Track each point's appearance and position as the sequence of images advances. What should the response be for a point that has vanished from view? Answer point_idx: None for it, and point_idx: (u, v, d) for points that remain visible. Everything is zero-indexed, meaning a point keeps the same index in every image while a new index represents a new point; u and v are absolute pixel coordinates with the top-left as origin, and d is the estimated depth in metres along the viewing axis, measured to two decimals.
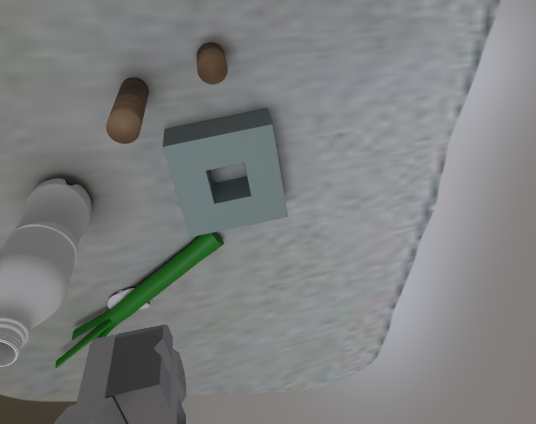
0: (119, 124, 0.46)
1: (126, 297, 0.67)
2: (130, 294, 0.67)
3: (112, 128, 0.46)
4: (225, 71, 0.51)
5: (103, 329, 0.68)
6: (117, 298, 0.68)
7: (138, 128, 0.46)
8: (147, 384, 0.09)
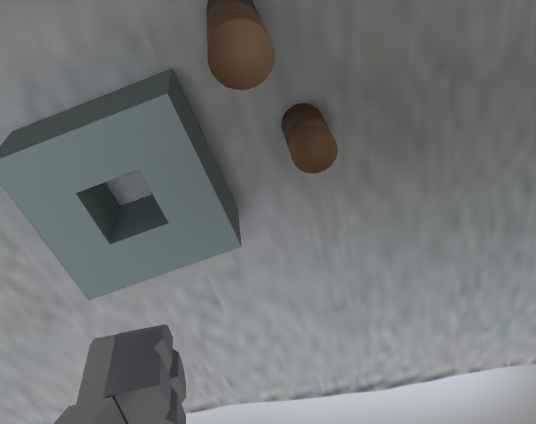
0: (248, 49, 0.23)
1: None
2: None
3: (237, 36, 0.22)
4: (313, 170, 0.33)
5: None
6: None
7: (245, 86, 0.23)
8: (147, 384, 0.09)
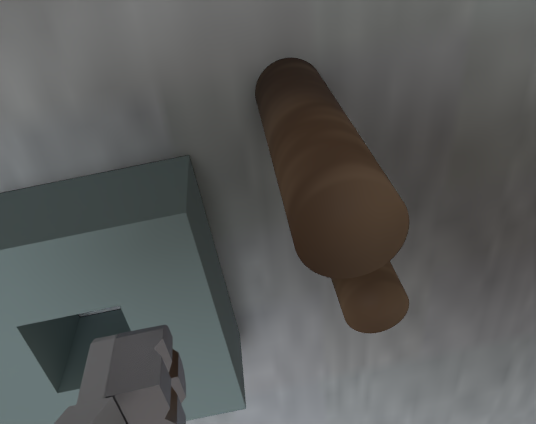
0: (368, 222, 0.13)
1: None
2: None
3: (357, 200, 0.12)
4: (368, 330, 0.23)
5: None
6: None
7: (345, 275, 0.14)
8: (147, 383, 0.09)
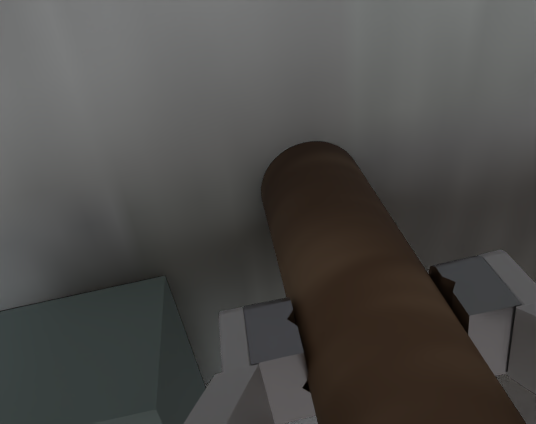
0: None
1: None
2: None
3: None
4: None
5: None
6: None
7: None
8: (291, 351, 0.09)
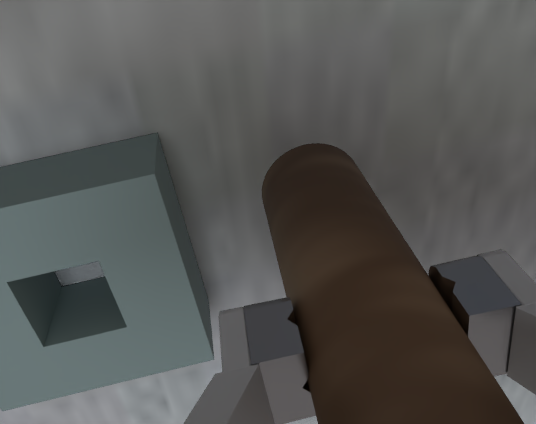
0: None
1: None
2: None
3: None
4: None
5: None
6: None
7: None
8: (291, 352, 0.09)
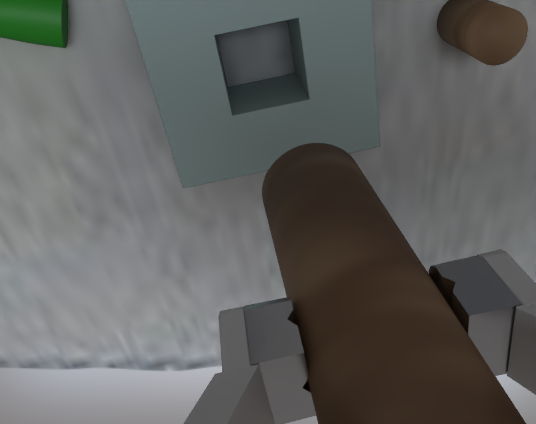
0: None
1: None
2: None
3: None
4: (491, 61, 0.28)
5: None
6: None
7: None
8: (291, 352, 0.09)
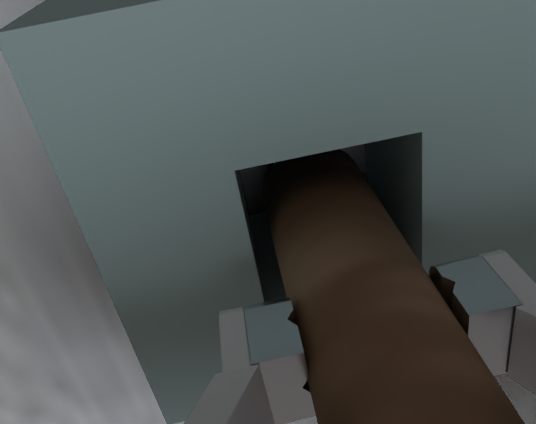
0: None
1: None
2: None
3: None
4: None
5: None
6: None
7: None
8: (291, 352, 0.09)
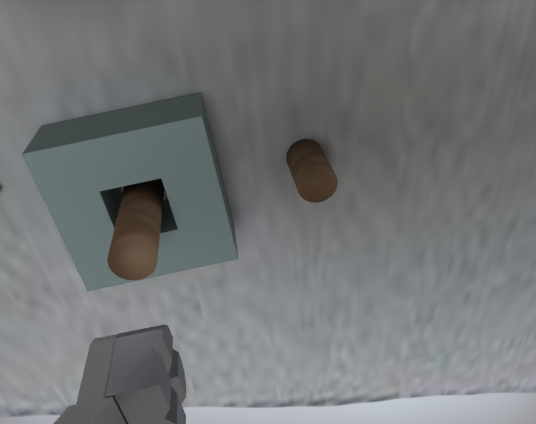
0: (138, 257, 0.31)
1: None
2: None
3: (131, 248, 0.31)
4: (313, 200, 0.38)
5: None
6: None
7: (134, 278, 0.32)
8: (147, 384, 0.09)
